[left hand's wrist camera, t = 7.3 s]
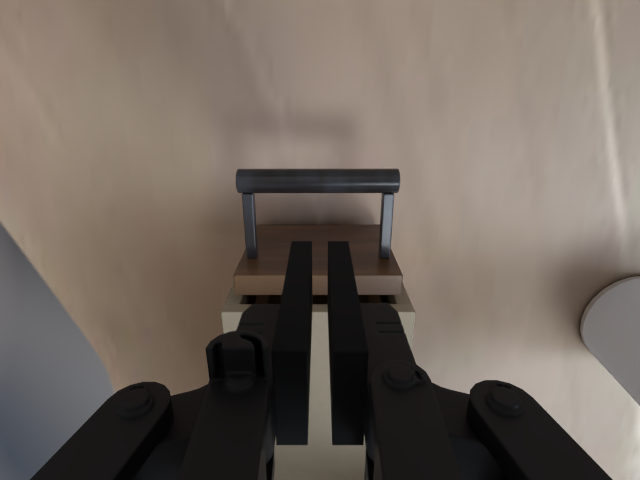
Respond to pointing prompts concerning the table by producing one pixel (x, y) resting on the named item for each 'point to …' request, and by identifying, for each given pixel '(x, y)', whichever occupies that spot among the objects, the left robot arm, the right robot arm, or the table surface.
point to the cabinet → (319, 399)
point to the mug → (616, 332)
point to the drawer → (317, 234)
